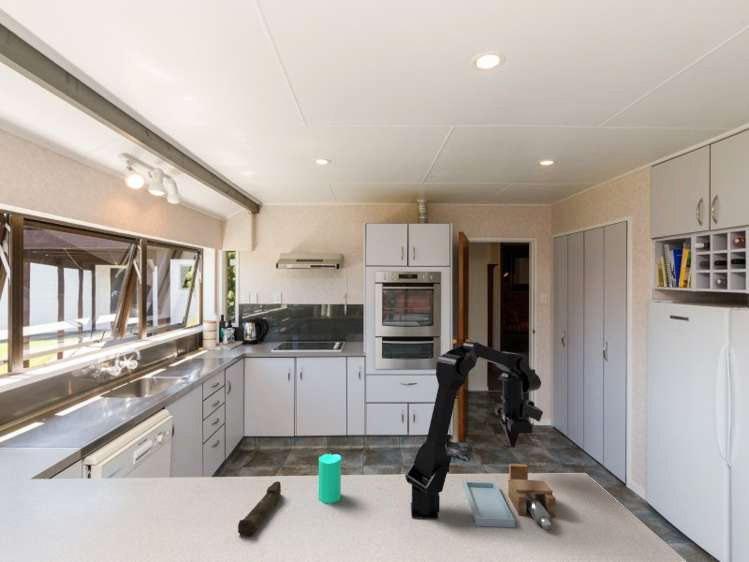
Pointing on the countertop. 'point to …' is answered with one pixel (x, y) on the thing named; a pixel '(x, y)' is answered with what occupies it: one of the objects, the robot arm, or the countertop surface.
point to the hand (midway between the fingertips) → (512, 446)
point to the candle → (329, 478)
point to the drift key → (518, 471)
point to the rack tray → (487, 504)
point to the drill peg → (538, 511)
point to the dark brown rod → (260, 511)
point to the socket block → (530, 486)
